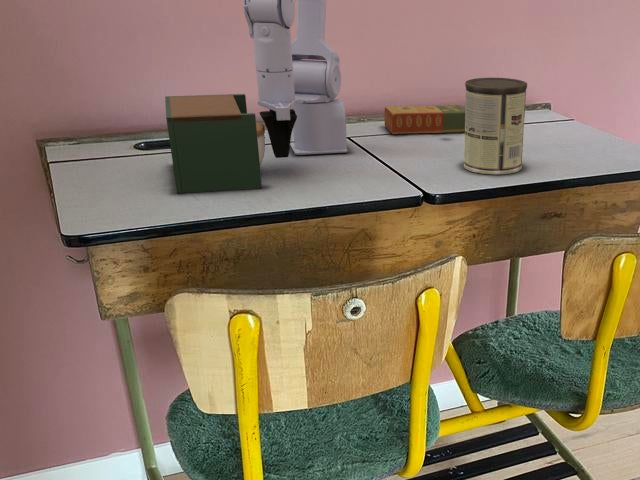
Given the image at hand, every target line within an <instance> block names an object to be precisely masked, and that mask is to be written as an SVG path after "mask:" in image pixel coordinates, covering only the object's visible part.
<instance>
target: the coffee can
mask: <svg viewBox="0 0 640 480" xmlns="http://www.w3.org/2000/svg"><path fill="white" fill-rule="evenodd" d="M464 87H465V105H464V106H465V107H464V109H465V132H464V153H463V156H464V157H463V158H464V159H463V168H464V169H465V170H467V171H469V172H472V173H476V174H482V175H509V174H513V173H517V172H520V171H521V170H522V168H523V165H522V163H523V147H524V131H525V129H524V128H525V114H526V97H527V89H528V82H526V81H524V80H520V79H517V78H508V77H476V78H471V79H468V80H466V81H465V82H464Z"/></svg>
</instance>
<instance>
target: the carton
mask: <svg viewBox="0 0 640 480" xmlns="http://www.w3.org/2000/svg"><path fill="white" fill-rule="evenodd" d="M383 116H384V119H383V120H384V122H383V123H384V127H386V129H387V130H388V131H389V132H390V134H392V135H399V134H400V135H401V134H453V133H454V134H456V133H457V134H459V133H463V134H464V133H465V108H463V107H462V106H460V105H458V104H450V105H447V104H445V105H413V106H412V105H407V106H406V105H403V106H402V105H399V106H384V115H383Z"/></svg>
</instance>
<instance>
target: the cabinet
mask: <svg viewBox="0 0 640 480" xmlns="http://www.w3.org/2000/svg"><path fill="white" fill-rule="evenodd" d="M164 102H165V103H164V104H165V118H166V119H165V120H166V126H167V133H168V138H169V146H170V153H171V160H172V161H171V162H172V168H173V174H174V181H175V188H176V194H190V193H191V194H192V193H207V192H208V193H209V192H221V191H222V192H223V191H237V190H254V189H262V188H263V184H262V174H261V173H262V172H261V165H260V161H259V150H258V139H257V128H256V122H257V118H256V113H255V112H249V113H248V108H247V97H246V93H231V94H228V93H227V94H201V95H200V94H198V95H171V96H169V95H168V96H164Z"/></svg>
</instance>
